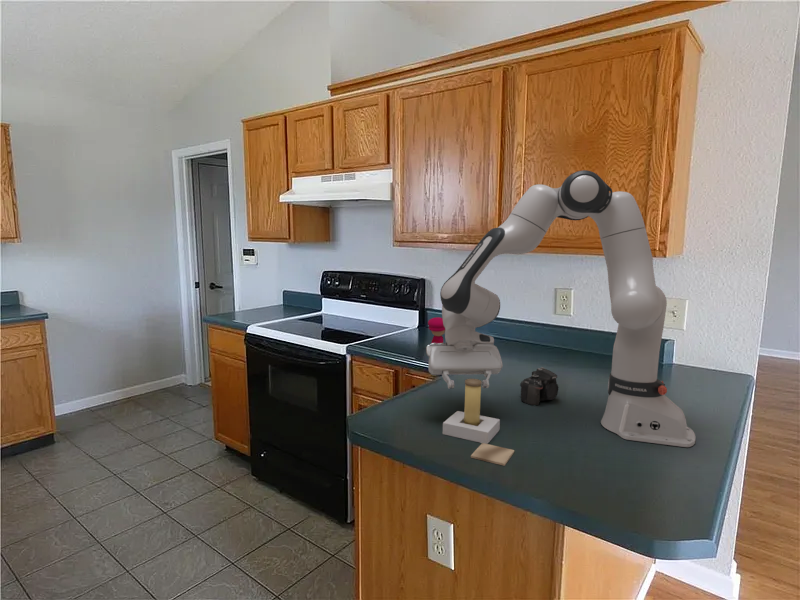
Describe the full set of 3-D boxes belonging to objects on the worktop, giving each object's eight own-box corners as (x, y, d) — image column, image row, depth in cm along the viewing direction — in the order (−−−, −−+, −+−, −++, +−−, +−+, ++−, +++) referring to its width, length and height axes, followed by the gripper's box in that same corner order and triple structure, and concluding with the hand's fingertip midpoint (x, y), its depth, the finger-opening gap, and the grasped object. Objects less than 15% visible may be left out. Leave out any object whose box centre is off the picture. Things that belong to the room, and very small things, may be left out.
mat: (514, 452, 116) (514, 450, 116) (504, 465, 109) (504, 463, 109) (482, 444, 120) (482, 442, 120) (470, 457, 113) (470, 455, 113)
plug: (481, 431, 128) (483, 380, 126) (476, 436, 125) (478, 384, 123) (466, 427, 130) (468, 377, 128) (460, 433, 126) (462, 381, 125)
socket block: (499, 430, 129) (499, 419, 128) (487, 444, 120) (487, 432, 120) (457, 421, 134) (457, 410, 134) (442, 433, 126) (442, 422, 125)
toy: (449, 350, 216) (450, 317, 213) (440, 354, 209) (441, 320, 207) (432, 348, 220) (433, 315, 218) (423, 351, 213) (424, 317, 211)
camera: (549, 409, 145) (551, 377, 144) (517, 402, 151) (519, 371, 149) (561, 397, 156) (563, 367, 155) (531, 391, 162) (532, 362, 160)
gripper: (426, 337, 134) (431, 382, 126) (498, 337, 137) (508, 381, 128) (423, 349, 139) (428, 393, 131) (493, 348, 142) (502, 392, 133)
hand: (468, 387), depth 130 cm, fingers open, 8 cm apart
